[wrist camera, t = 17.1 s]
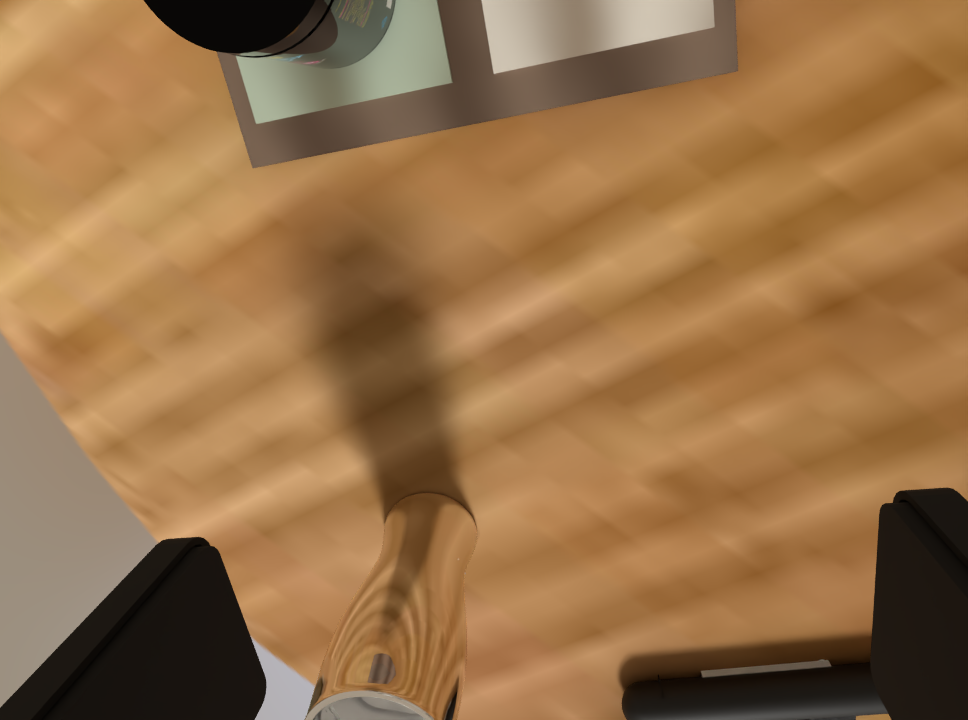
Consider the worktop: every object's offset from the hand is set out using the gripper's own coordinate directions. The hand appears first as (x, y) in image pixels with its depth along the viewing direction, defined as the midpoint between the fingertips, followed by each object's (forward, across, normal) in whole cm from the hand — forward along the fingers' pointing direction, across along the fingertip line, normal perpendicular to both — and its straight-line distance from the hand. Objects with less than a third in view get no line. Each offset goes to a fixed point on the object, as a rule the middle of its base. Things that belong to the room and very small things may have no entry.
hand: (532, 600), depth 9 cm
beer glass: (+27, +10, +17) cm, 34 cm away
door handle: (+28, -11, +38) cm, 48 cm away
